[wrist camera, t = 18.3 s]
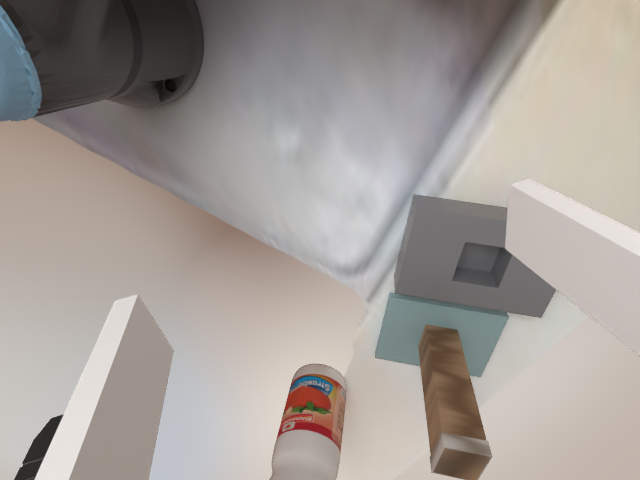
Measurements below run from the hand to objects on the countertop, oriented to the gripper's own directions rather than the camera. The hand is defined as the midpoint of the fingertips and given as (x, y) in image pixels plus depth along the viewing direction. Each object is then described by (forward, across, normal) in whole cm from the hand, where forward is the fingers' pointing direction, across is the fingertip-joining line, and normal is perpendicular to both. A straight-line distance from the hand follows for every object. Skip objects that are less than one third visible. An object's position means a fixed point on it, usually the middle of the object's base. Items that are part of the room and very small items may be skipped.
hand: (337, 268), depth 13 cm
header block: (+24, +20, -21) cm, 38 cm away
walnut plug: (+24, +14, -35) cm, 45 cm away
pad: (+25, +15, -35) cm, 46 cm away
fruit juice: (+31, -4, -45) cm, 55 cm away
